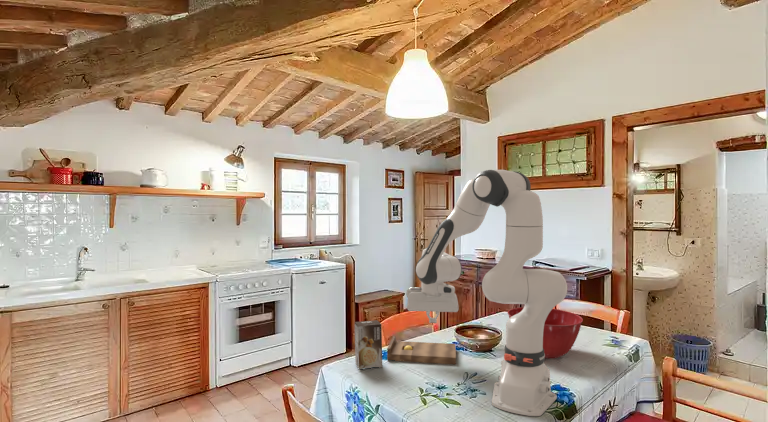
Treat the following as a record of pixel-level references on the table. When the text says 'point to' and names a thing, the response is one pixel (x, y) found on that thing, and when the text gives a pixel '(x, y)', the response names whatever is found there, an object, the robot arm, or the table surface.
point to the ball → (408, 347)
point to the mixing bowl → (557, 331)
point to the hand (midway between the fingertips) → (432, 322)
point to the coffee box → (368, 344)
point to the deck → (422, 352)
